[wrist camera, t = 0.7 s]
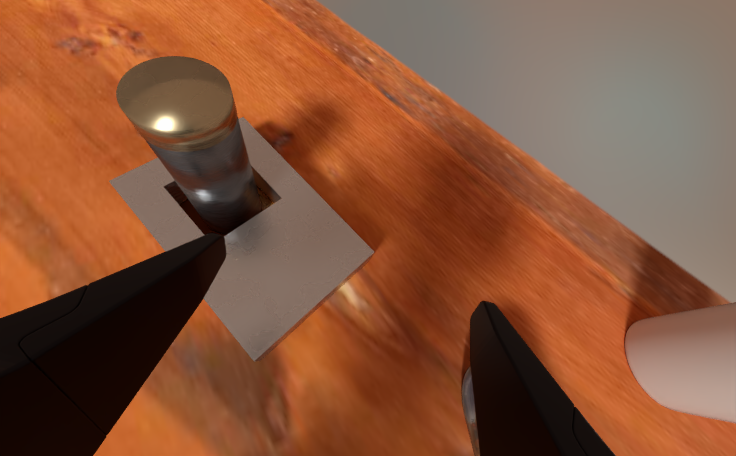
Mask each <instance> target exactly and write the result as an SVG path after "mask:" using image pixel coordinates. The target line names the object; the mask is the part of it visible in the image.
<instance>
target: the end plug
mask: <svg viewBox="0 0 736 456" xmlns="http://www.w3.org/2000/svg"><path fill="white" fill-rule="evenodd" d="M116 95H117V101H118V103H119V106H120V107H121V109H122V110H123V112H124V113H125V114H126V116H127V117H128V118H129V120H130V121H131V123H132V124H133V125H134V127H135V128H136V129H137V131H138V132H139V134H140V135H141V136H142V137H143V138H144V139H145V140H146V141H147V143H148V144H149V146H150V147H151V148H152V150H153V151H154V153H155V154H156V155H157V157H158V158H159V159H160V161H161V162H162V164H163V165H164V166H165V168H166V169H167V171H168V172H169V173H170V175H171V176H172V177H173V179H174V180H175V182H176V183H177V184H178V186H179V187H180V189H181V190H182V191H183V193H184V194H185V195H186V197H187V198H188V200H189V201H190V202H191V204H192V205H193V207H194V208H195V209H196V211H197V212H198V213H199V215H200V216H201V218H202V219H203V220H204V222H205V223H206V224H207V226H208V227H209V228H210V229H212V230H213V231H215V232H217V233H220V234H224V235H227V234H229V233H230V232H232V231H233V230H235V229H236V228H238V227H239V226H241V225H242V224H244V223H245V222H247V221H248V220H250V219H251V218H253V217H254V216H256V215H257V214H259V213H260V212H262V205H261V201H260V197H259V194H258V190H257V186H256V183H255V179H254V175H253V172H252V168H251V164H250V161H249V157H248V153H247V150H246V146H245V142H244V139H243V135H242V131H241V128H240V124H239V120H238V117H237V110H236V106H235V102H234V98H233V95H232V91H231V87H230V84H229V82H228V80H227V78H226V77H225V76H224V74H223V73H222V72H221V71H219V70H218V69H217V68H215V67H214V66H212V65H210V64H208V63H206V62H204V61H201V60H198V59H194V58H189V57H180V56H169V57H160V58H155V59H151V60H148V61H145V62H143V63H140V64H138V65H136V66H135V67H133V68H132V69H130V70H129V71H128V72H127V73H126V74H125V75H124V76H123V77H122V79H121V80H120V82H119V84H118V87H117V91H116Z"/></svg>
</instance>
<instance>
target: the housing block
mask: <svg viewBox="0 0 736 456" xmlns="http://www.w3.org/2000/svg"><path fill="white" fill-rule="evenodd" d="M238 120H239V124H240V128H241V131H242V135H243V139H244V142H245V146H246V150H247V153H248V157H249V161H250V164H251V168H252V172H253V175H254V179H255V183H256V184H257V186H258V187H259V188H260V189H261V190H262V191H263V192H264V193H265V194H266V195H267V196H268V197H269V198H270V200H271V201H272V202H273V203H274V204H273V205H271V206H270V207H268V208H267V209H265V210H264V211H262V212H260V213H259V214H257V215H256V216H254V217H253V218H251V219H250V220H248V221H247V222H245V223H244V224H242V225H241V226H239V227H238V228H236V229H235V230H233V231H232V232H230V233H229V234H227V235H226V236H224V238H225V245H226V252H227V254H226V258H225V261H224V262H223V264H222V266H221V268H220V270H219V272H218V273H217V275H216V277H215V279H214V281H213V283H212V284H211V286H210V288H209V290H208V292H207V293H206V295H205V297H204V298H203V299H204V300H205V301H206V302H207V303H208V305H209V306H210V307H211V308H212V310H213V311H214V312H215V313H216V315H217V316H218V317H219V318H220V320H221V321H222V322H223V323H224V325H225V326H226V327H227V328H228V330H229V331H230V332H231V333H232V334H233V336H234V337H235V338H236V339H237V341H238V342H239V343H240V344H241V346H242V347H243V348H244V349H245V351H246V352H247V353H248V354H249V356H250V357H251V358H252V359H253V361H261V360H262V359H263V358H264V357H265V356H266V355H267V354H268V353H270V352H271V351H272V350H273V349H274V348H275V347H276V346H277V345H278V344H279V343H280V342H281V341H283V340H284V339H285V338H286V337H287V336H288V335H289V334H290V333H291V332H292V331H293V330H295V329H296V328H297V327H298V326H299V325H300V324H301V323H302V322H303V321H304V320H305V319H307V318H308V317H309V316H310V315H311V314H312V313H313V312H314V311H315V310H316V309H317V308H319V307H320V306H321V305H322V304H323V303H324V302H325V301H326V300H327V299H328V298H329V297H331V296H332V295H333V294H334V293H335V292H336V291H337V290H338V289H339V288H340V287H341V286H343V285H344V284H345V283H346V282H347V281H348V280H349V279H350V278H351V277H352V276H353V275H355V274H356V273H357V272H358V271H359V270H360V269H361V268H362V267H363V266H364V265H365V264H367V263H368V261H369V260H370V258H371V257H372V255H373V254H374V251H373V250H372V249H371V248H370V247H369V246H368V245H367V244H366V243H365V242H364V241H363V240H362V239H361V238H360V237H359V236H358V235H357V233H356V232H355V231H354V230H353V229H352V228H351V227H350V226H349V225H348V224H347V223H346V222H345V221H344V220H343V219H342V218H341V217H340V216H339V215H338V214H337V213H336V212H335V211H334V210H333V209H332V208H331V207H330V206H329V205H328V204H327V203H326V202H325V201H324V200H323V199H322V198H321V196H320V195H319V194H318V193H317V192H316V191H315V190H314V189H313V188H312V187H311V186H310V185H309V184H308V183H307V182H306V181H305V180H304V179H303V178H302V177H301V176H300V175H299V174H298V173H297V172H296V171H295V170H294V169H293V168H292V167H291V166H290V165H289V164H288V163H287V162H286V161H285V159H284V158H283V157H282V156H281V155H280V154H279V153H278V152H277V151H276V150H275V149H274V148H273V147H272V146H271V145H270V144H269V143H268V142H267V141H266V140H265V139H264V138H263V137H262V136H261V135H260V134H259V133H258V132H257V131H256V130H255V129H254V128H253V127H252V126H251V125H250V124H249V122H248V121H247V120H246V119H245V118H244V117H242V118H240V119H238ZM109 182H110V183H111V184H112V186H113V187H114V188H115V189H116V191H117V192H118V193H119V194H120V196H121V197H122V198H123V199H124V201H125V202H126V203H127V204H128V206H129V207H130V208H131V209H132V210H133V212H134V213H135V214H136V215H137V217H138V218H139V219H140V220H141V222H142V223H143V224H144V225H145V227H146V228H147V229H148V230H149V232H150V233H151V234H152V235H153V237H154V238H155V239H156V240H157V241H158V243H159V244H160V245H161V246H162V248H163V249H164V250H165V251H168V250H171V249H173V248H175V247H178V246H180V245H183V244H185V243H187V242H190V241H192V240H194V239H197V238H199V237H202V236H204V234H203V233H202V232H201V230H200V229H199V228H198V227H197V226H196V224H195V223H194V222H193V221H192V220H191V219H190V217H189V216H188V215H187V214H186V213H185V212H184V210H183V209H182V208H181V207H180V206H179V204H180V203H182V202H184V201H186V200H187V199H188V198H187V197H186V195H185V194H184V193H183V191H182V190H181V189H180V187H179V186H178V184H177V183H176V182H175V180H174V179H173V177H172V176H171V175H170V173H169V172H168V171H167V169H166V168H165V166H164V165H163V164H162V162H161V161H160V159H159V158H156V159H154V160H152V161H150V162H148V163H146V164H144V165H142V166H140V167H137V168H135V169H133V170H131V171H129V172H127V173H125V174H123V175H121V176H119V177H117V178H114V179H112V180H110V181H109Z"/></svg>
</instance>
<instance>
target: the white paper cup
mask: <svg viewBox="0 0 736 456" xmlns="http://www.w3.org/2000/svg"><path fill="white" fill-rule="evenodd" d="M625 352H626V357H627V361H628V364H629V366H630V369H631V371H632V373H633V375H634V377H635V378H636V380H637V381H638V383H639V384H640V386H641V387H642V388H643V389H644V391H645V392H646V393H647V394H648V395H649V396H650V397H651V398H652V399H654V400H655V401H656V402H658V403H659V404H661V405H662V406H664V407H666V408H668V409H671V410H674V411H678V412H682V413H686V414H691V415H696V416H701V417H706V418H711V419H716V420H721V421H726V422H731V423H736V302H734V303H729V304H723V305H717V306H712V307H706V308H700V309H695V310H689V311H684V312H678V313H672V314H667V315H661V316H656V317H651V318H646V319H642V320H639V321H636V322H635V323H633V324H632V325H631V326H630V327H629V329H628V331H627V333H626V337H625Z"/></svg>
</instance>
